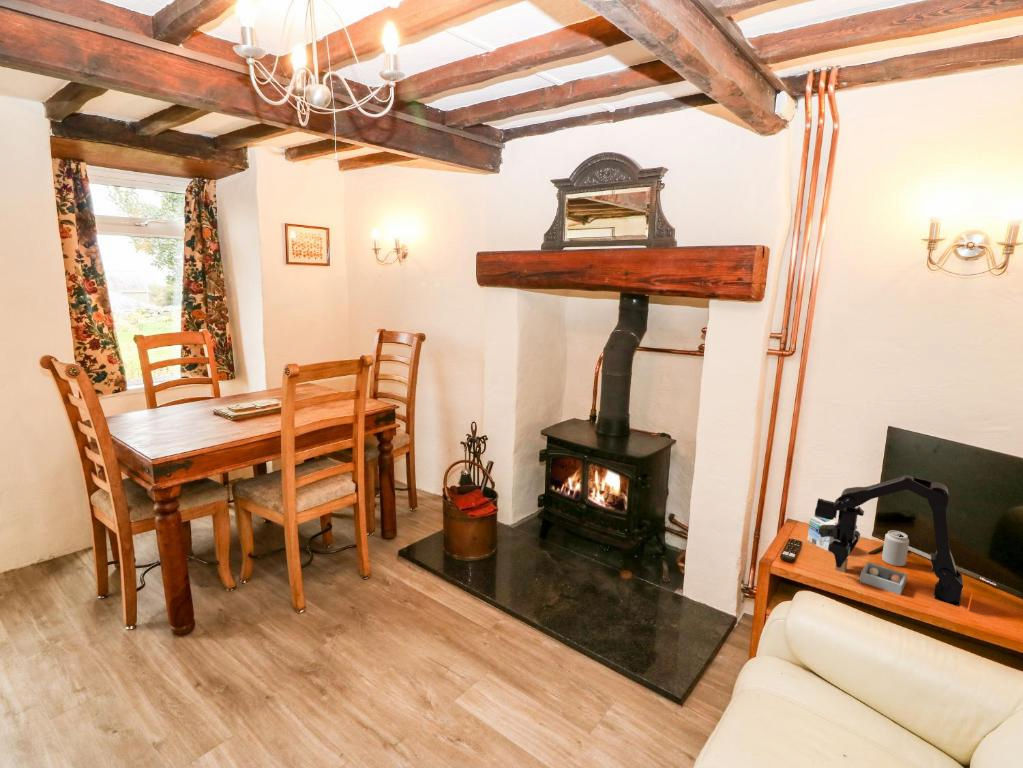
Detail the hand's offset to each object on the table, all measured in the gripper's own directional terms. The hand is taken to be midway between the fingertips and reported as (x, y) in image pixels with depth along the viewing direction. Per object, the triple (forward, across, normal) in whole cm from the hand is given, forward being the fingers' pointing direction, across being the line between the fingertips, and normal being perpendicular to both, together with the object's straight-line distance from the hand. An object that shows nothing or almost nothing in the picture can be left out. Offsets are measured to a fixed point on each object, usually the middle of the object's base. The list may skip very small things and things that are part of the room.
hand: (841, 562), depth 202 cm
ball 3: (+3, -3, +16) cm, 17 cm away
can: (+4, -20, +13) cm, 24 cm away
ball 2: (+3, -3, +13) cm, 14 cm away
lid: (+4, 0, 0) cm, 4 cm away
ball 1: (+3, -3, +10) cm, 11 cm away
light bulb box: (+4, -17, -10) cm, 20 cm away
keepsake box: (+3, 0, +13) cm, 13 cm away
